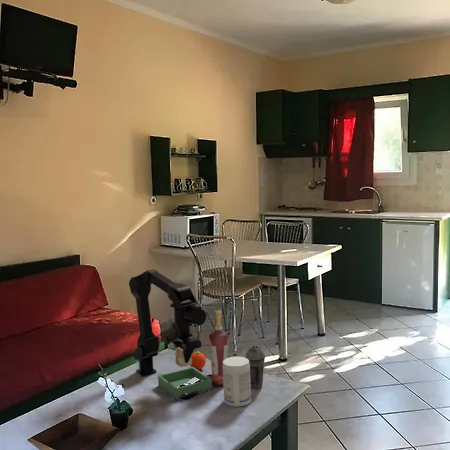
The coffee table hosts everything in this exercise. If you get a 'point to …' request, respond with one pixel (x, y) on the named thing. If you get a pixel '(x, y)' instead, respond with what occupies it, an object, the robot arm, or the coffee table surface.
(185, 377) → the green bin
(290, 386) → the coffee table surface
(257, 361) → the beverage cup
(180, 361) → the beech block
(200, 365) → the clementine
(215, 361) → the liquor
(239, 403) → the supplement tub
